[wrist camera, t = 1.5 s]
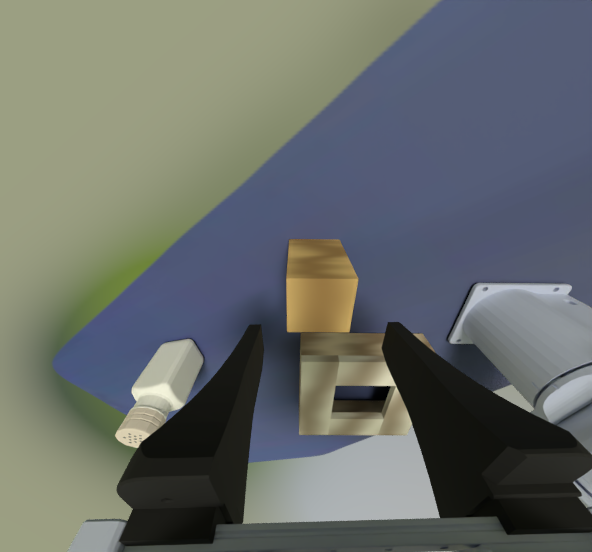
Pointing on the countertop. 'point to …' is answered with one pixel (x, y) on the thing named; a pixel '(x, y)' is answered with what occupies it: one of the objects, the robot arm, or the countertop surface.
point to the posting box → (347, 372)
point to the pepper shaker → (161, 390)
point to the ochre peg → (319, 286)
